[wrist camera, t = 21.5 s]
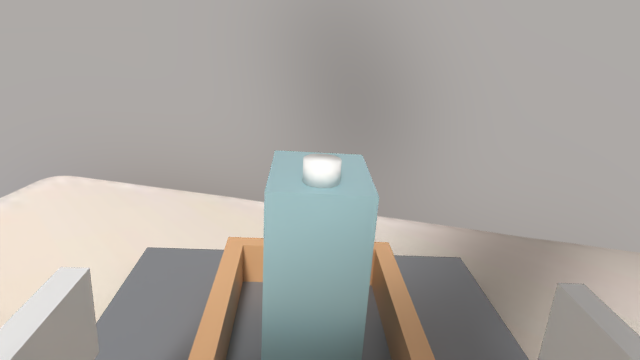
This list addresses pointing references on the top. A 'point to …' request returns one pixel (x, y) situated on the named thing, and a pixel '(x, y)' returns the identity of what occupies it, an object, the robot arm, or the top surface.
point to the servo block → (317, 256)
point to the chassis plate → (246, 308)
